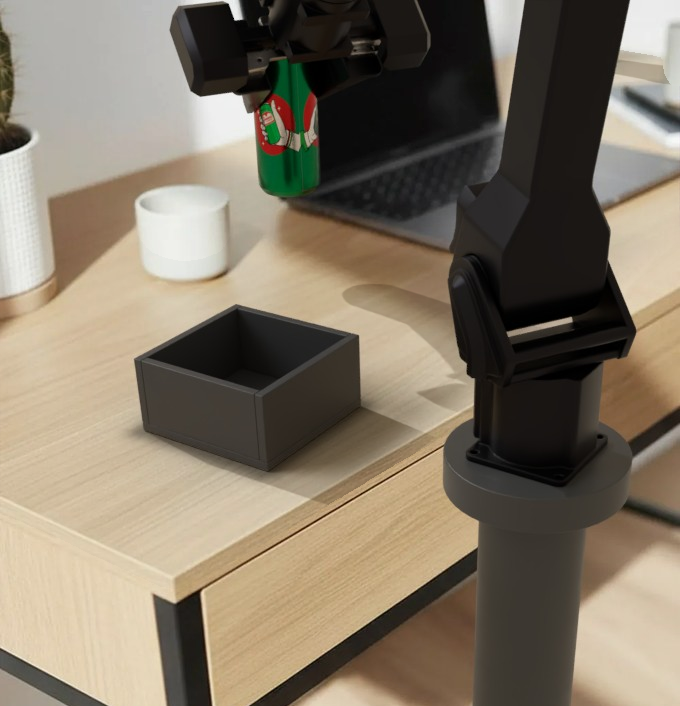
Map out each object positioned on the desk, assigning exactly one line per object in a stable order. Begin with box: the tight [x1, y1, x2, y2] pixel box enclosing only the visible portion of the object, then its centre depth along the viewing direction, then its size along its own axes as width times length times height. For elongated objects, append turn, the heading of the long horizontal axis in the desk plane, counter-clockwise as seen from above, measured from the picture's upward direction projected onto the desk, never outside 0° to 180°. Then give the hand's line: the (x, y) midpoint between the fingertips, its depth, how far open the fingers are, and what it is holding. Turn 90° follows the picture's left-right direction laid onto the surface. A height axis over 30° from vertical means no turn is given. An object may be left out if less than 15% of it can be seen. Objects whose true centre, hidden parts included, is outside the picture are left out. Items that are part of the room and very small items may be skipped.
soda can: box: [253, 59, 322, 198], centre depth 95 cm, size 5×5×12 cm
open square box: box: [133, 303, 362, 472], centre depth 77 cm, size 10×10×5 cm
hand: (278, 103), depth 96 cm, fingers closed on soda can, 5 cm apart
